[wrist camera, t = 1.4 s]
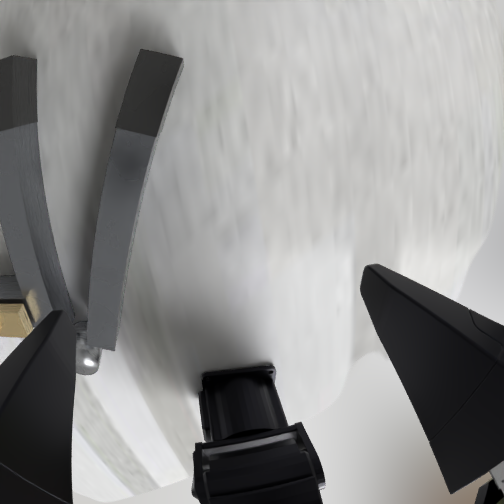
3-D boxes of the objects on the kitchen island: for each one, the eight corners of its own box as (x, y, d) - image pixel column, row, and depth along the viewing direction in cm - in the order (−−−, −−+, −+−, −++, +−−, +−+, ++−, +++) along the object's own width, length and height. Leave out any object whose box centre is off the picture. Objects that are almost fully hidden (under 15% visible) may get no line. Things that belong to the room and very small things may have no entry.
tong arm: (184, 65, 15) (183, 58, 12) (117, 353, 23) (112, 382, 20) (118, 51, 14) (105, 42, 11) (71, 343, 22) (63, 371, 19)
